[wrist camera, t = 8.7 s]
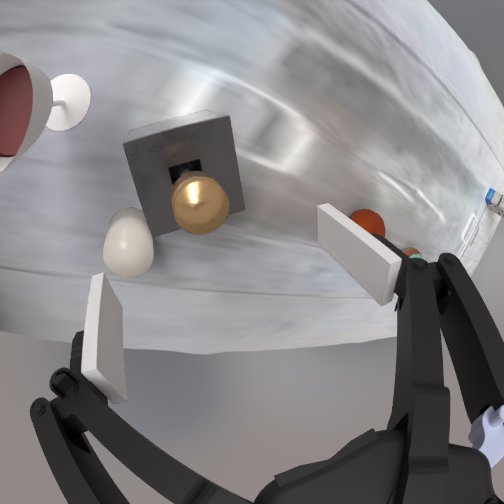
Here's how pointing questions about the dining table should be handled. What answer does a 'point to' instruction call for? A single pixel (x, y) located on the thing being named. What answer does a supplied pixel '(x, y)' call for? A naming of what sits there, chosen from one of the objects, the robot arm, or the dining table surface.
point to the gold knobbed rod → (197, 199)
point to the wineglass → (35, 105)
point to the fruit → (369, 221)
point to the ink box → (495, 202)
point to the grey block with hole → (177, 152)
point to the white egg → (128, 244)
